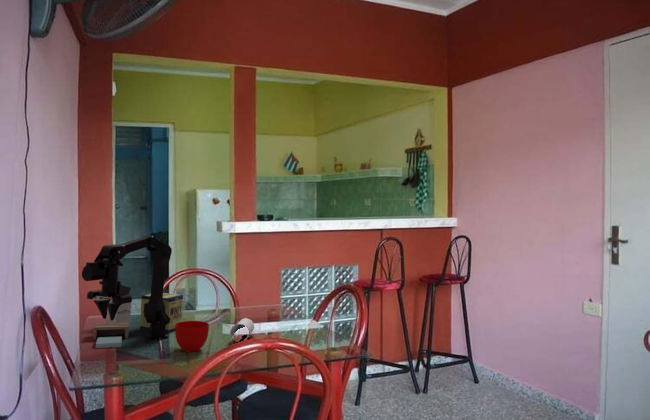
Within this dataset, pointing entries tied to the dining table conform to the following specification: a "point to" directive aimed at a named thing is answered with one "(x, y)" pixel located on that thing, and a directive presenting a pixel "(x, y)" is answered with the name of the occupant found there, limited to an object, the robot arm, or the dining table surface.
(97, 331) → the low shelf
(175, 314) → the protein box
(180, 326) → the ceramic cup
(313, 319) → the dining table surface
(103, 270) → the robot arm
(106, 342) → the grey-blue square plate
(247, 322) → the white plastic bottle
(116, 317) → the supplement box
